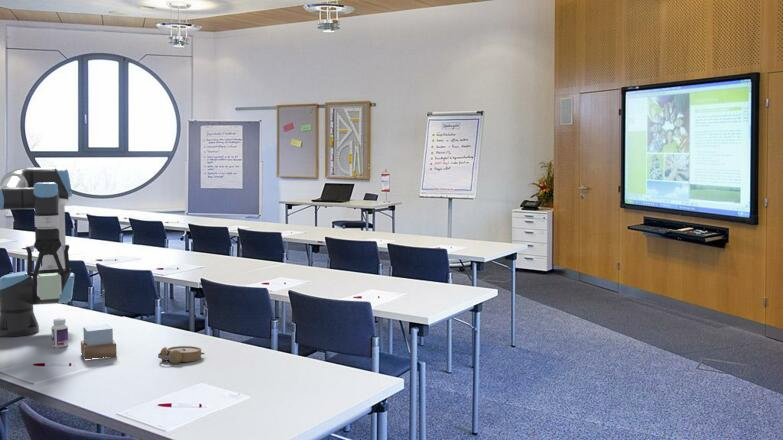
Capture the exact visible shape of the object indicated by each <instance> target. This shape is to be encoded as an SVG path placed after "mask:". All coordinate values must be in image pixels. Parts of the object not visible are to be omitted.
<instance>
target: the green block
mask: <svg viewBox="0 0 783 440" xmlns="http://www.w3.org/2000/svg"><path fill="white" fill-rule="evenodd" d="M38 276H39V277H40V296H39V298H40V299H41V300H45V299H57V298H60V282H59V274H58V273H46V274H38Z"/></svg>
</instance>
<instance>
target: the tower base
mask: <svg viewBox="0 0 783 440" xmlns="http://www.w3.org/2000/svg"><path fill="white" fill-rule="evenodd" d="M80 352H81V353H82V355H83V356H82V355H81V356H82V358H83V357H84V358H85V359H92V358H103V357H104V358H105V357H111V358H110V359H112V358H118V356H117V342H116V341H115V340H114V339H113V343H109V344H101V345H92V346H88V345H87V344H86V343H85V342H84V339H83V340H80ZM84 358H83V359H84ZM105 359H106V358H105Z"/></svg>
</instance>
